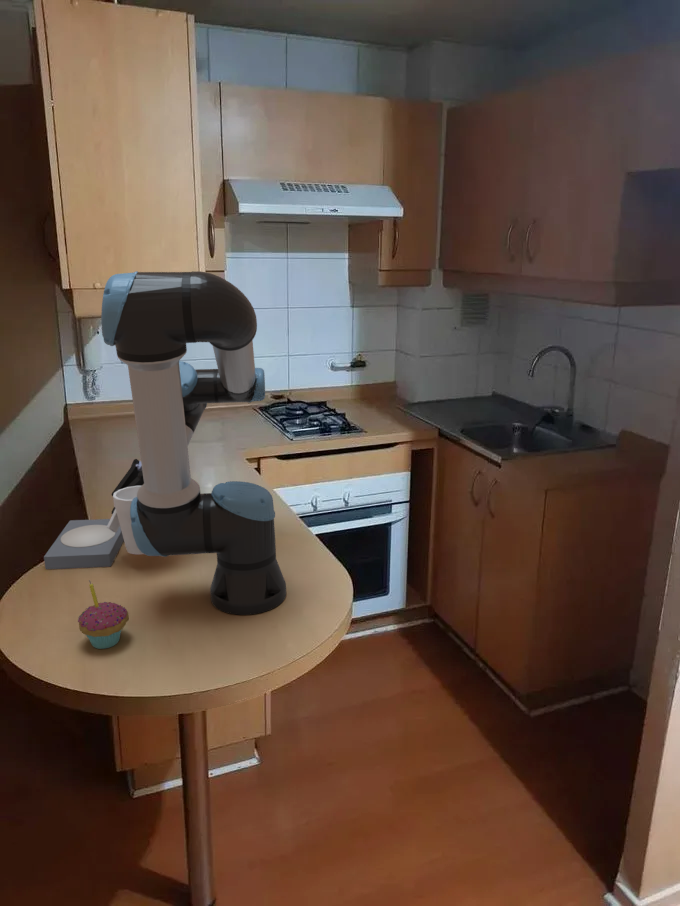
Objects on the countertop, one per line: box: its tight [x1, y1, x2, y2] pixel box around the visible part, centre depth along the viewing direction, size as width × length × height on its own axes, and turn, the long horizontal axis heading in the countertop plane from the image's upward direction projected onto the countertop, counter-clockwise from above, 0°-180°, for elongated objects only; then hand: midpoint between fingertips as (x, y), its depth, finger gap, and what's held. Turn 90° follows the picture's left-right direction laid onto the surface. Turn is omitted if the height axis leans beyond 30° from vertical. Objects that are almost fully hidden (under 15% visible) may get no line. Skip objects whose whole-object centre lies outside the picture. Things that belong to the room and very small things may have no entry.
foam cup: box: [112, 486, 144, 555], centre depth 153 cm, size 10×9×13 cm
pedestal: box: [43, 518, 124, 570], centre depth 164 cm, size 20×14×3 cm
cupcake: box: [77, 579, 130, 650], centre depth 126 cm, size 9×8×12 cm
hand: (129, 533), depth 151 cm, fingers closed on foam cup, 9 cm apart
